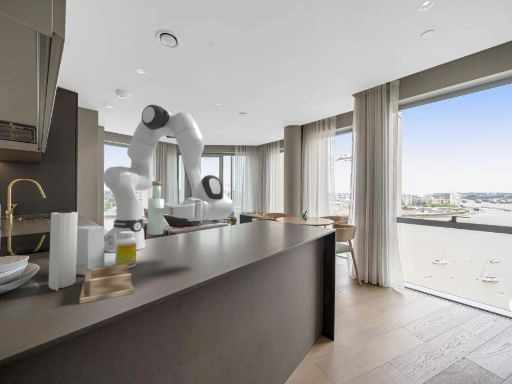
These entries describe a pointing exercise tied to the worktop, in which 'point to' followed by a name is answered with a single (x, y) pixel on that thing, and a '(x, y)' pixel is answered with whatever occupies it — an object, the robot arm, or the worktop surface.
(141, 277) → the worktop surface
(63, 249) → the paper towel roll
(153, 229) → the glass bottle
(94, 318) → the worktop surface
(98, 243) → the skincare box
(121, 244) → the supplement bottle
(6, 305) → the worktop surface
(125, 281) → the bottle stand
